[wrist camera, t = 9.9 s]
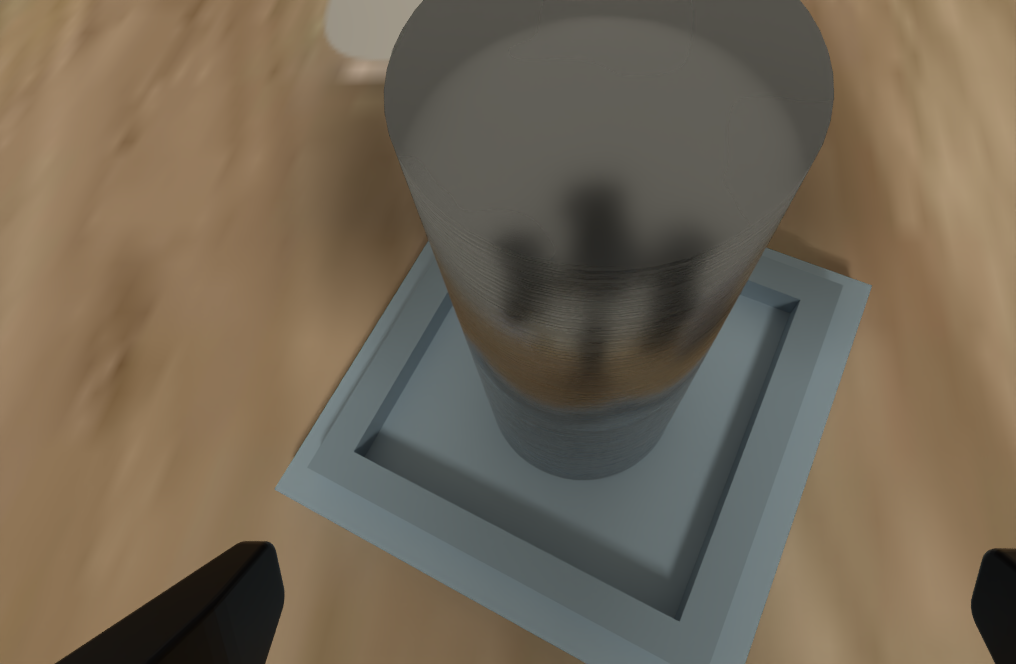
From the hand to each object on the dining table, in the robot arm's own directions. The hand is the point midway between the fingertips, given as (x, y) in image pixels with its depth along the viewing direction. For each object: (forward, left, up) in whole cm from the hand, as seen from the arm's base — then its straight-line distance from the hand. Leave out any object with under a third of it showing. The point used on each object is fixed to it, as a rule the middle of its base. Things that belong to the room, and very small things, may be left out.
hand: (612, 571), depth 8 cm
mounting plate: (+3, -5, -12) cm, 13 cm away
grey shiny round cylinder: (+3, -5, -10) cm, 12 cm away
